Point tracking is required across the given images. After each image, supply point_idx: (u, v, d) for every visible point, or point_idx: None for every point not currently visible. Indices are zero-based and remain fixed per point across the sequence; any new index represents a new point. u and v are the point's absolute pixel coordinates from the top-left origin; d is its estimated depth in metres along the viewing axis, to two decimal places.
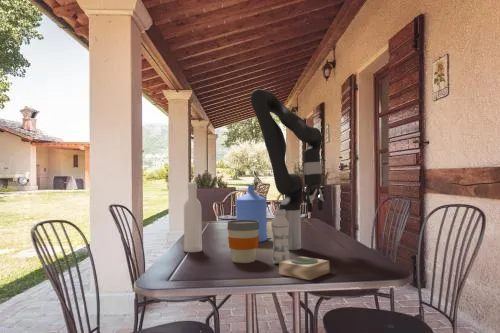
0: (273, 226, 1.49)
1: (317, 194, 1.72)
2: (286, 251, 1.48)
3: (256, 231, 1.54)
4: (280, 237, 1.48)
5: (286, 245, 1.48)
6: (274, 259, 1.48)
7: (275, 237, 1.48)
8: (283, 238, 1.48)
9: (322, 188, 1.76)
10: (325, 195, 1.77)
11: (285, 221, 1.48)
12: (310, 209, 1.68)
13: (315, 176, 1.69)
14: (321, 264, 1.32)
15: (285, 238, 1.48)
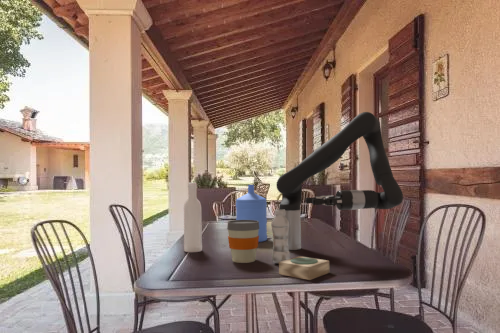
0: (273, 226, 1.49)
1: None
2: (286, 251, 1.48)
3: (256, 231, 1.54)
4: (280, 237, 1.48)
5: (286, 245, 1.48)
6: (274, 259, 1.48)
7: (275, 237, 1.48)
8: (283, 238, 1.48)
9: None
10: None
11: (285, 221, 1.48)
12: (316, 203, 1.47)
13: (349, 207, 1.52)
14: (321, 264, 1.32)
15: (285, 238, 1.48)
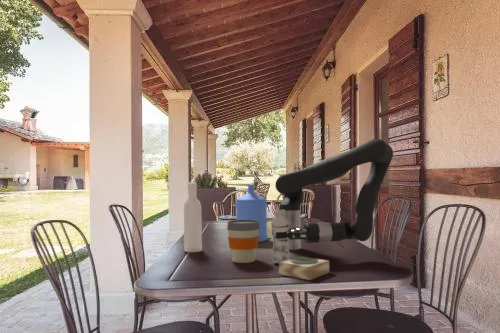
0: (273, 226, 1.49)
1: None
2: (286, 251, 1.48)
3: (256, 231, 1.54)
4: None
5: (286, 245, 1.48)
6: (274, 259, 1.48)
7: (275, 237, 1.48)
8: (283, 238, 1.48)
9: None
10: None
11: (285, 221, 1.48)
12: (279, 237, 1.46)
13: (315, 241, 1.50)
14: (321, 264, 1.32)
15: (285, 238, 1.48)
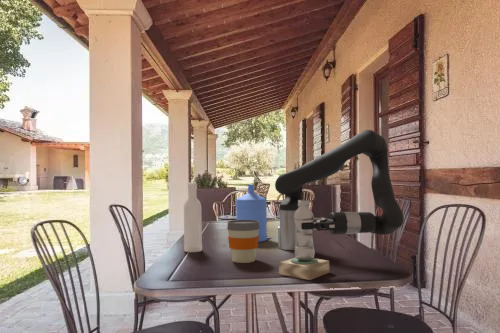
0: (296, 219, 1.33)
1: None
2: (311, 246, 1.33)
3: (256, 231, 1.54)
4: (304, 230, 1.33)
5: (311, 240, 1.33)
6: (297, 255, 1.33)
7: (298, 231, 1.33)
8: (308, 232, 1.33)
9: None
10: None
11: (310, 213, 1.33)
12: (305, 228, 1.30)
13: (343, 232, 1.35)
14: (321, 264, 1.32)
15: (310, 232, 1.33)
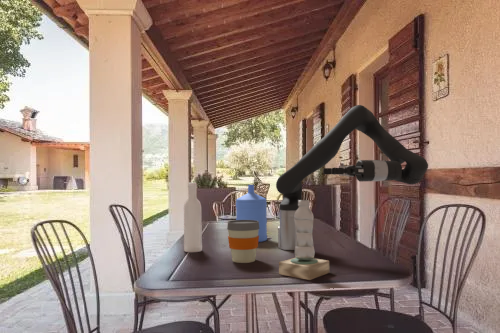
0: (296, 218, 1.34)
1: (346, 174, 1.42)
2: (311, 246, 1.33)
3: (256, 231, 1.54)
4: (304, 230, 1.33)
5: (311, 239, 1.33)
6: (297, 255, 1.33)
7: (298, 230, 1.34)
8: (307, 232, 1.33)
9: None
10: None
11: (310, 213, 1.33)
12: (335, 173, 1.36)
13: (370, 178, 1.40)
14: (321, 264, 1.32)
15: (310, 232, 1.33)
